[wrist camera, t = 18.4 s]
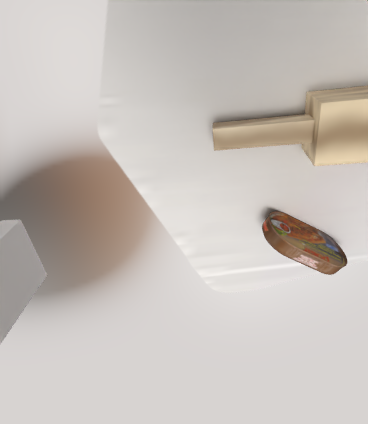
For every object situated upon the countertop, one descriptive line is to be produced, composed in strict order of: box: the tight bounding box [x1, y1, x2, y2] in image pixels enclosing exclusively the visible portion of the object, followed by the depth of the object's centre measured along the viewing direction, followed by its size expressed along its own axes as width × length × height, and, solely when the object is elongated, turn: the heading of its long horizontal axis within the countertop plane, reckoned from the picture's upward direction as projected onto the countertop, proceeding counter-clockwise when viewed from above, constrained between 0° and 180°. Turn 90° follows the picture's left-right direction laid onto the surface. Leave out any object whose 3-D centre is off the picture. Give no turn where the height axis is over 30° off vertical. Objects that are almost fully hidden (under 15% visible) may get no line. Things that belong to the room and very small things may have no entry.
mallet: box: [213, 86, 368, 166], centre depth 41 cm, size 8×21×7 cm, turn 97°
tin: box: [262, 211, 347, 275], centre depth 50 cm, size 15×3×8 cm, turn 64°
